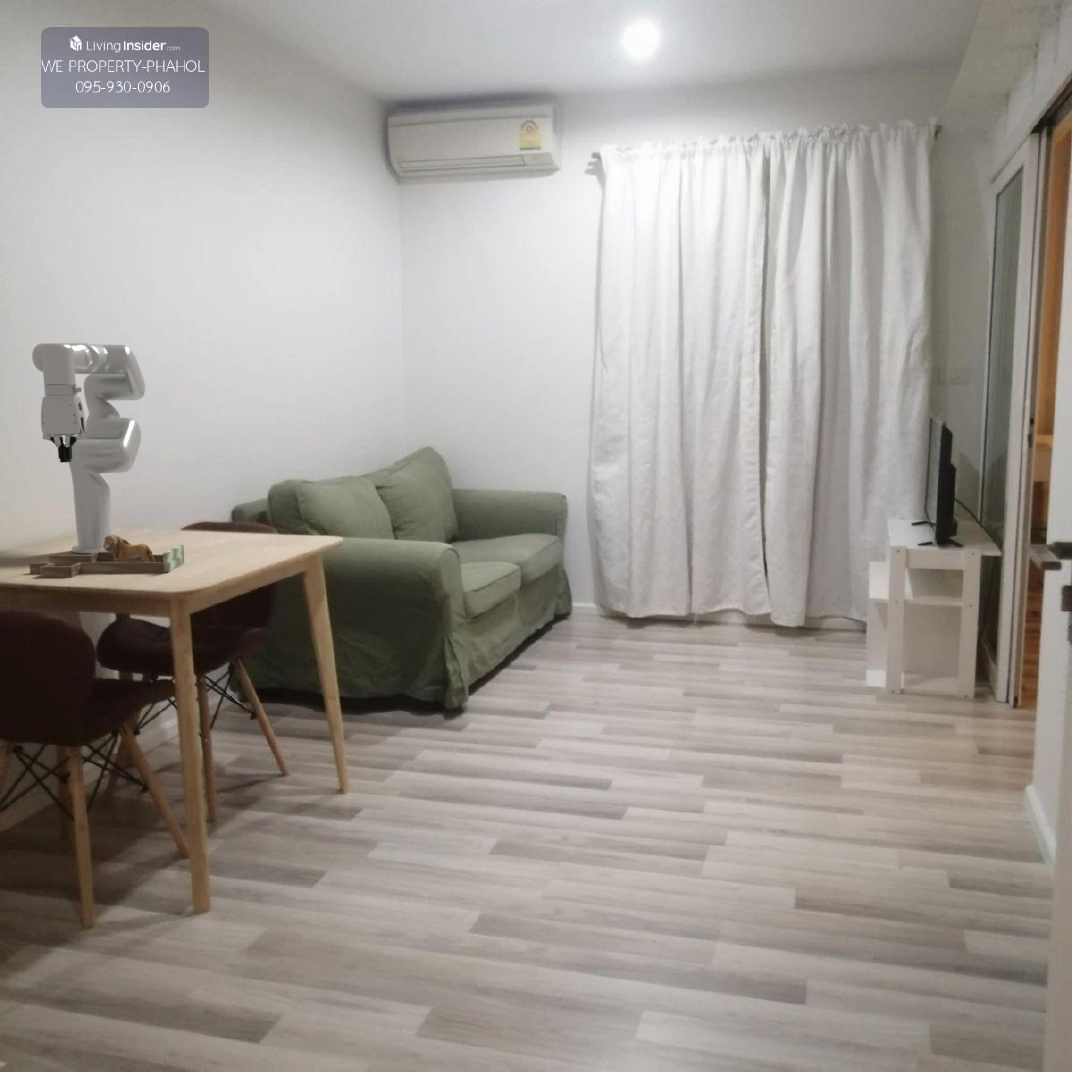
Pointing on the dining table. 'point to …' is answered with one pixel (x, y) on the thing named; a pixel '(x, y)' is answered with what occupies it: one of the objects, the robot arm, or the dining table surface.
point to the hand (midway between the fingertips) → (65, 461)
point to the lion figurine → (126, 549)
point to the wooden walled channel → (107, 564)
